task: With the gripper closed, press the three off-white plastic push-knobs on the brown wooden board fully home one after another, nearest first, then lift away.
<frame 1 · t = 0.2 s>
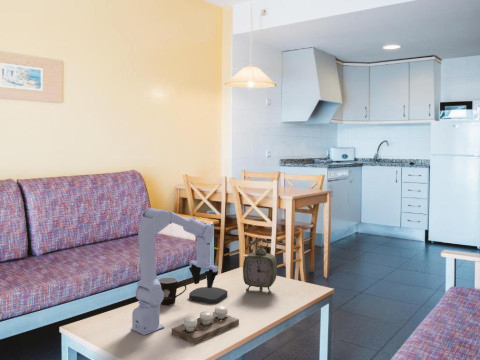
hand: (203, 285, 184), 10 cm above the table, fingers open, 7 cm apart
media streaming box: (208, 298, 199), on the table
knob near: (190, 325, 158), point 4 cm above the table, slide at 0.0 cm
tabletop clock: (260, 291, 208), on the table
coffee mug: (170, 304, 190), on the table
knob far: (221, 312, 170), point 4 cm above the table, slide at 0.0 cm
brown wooden board: (206, 329, 164), on the table
knob middle: (206, 318, 164), point 4 cm above the table, slide at 0.0 cm
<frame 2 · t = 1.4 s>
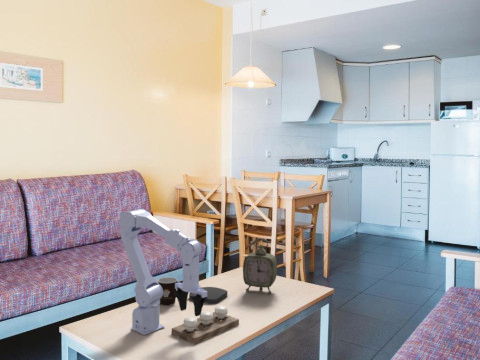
hand: (190, 312, 158), 8 cm above the table, fingers open, 7 cm apart
nothing on the table moved.
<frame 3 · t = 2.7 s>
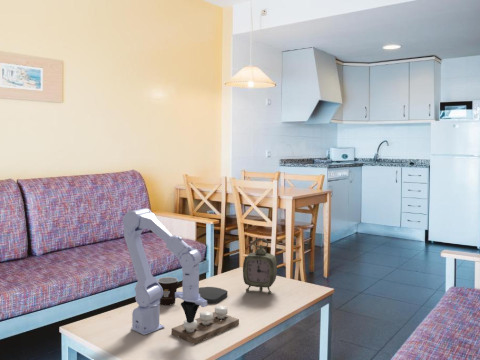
hand: (190, 321, 158), 5 cm above the table, fingers closed, pressing on knob near
knob near: (190, 326, 158), point 3 cm above the table, slide at 0.7 cm, touching gripper
everything else where it was.
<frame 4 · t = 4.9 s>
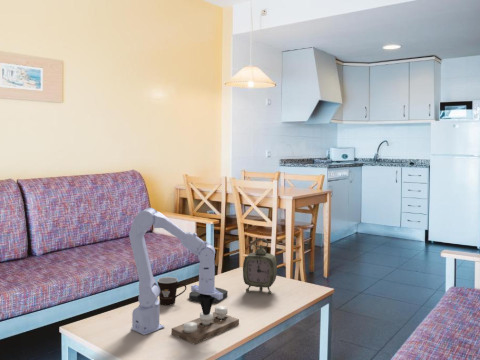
hand: (206, 314, 164), 6 cm above the table, fingers closed, pressing on knob middle
knob near: (190, 330, 158), point 2 cm above the table, slide at 1.8 cm
knob middle: (206, 318, 164), point 4 cm above the table, slide at 0.1 cm, touching gripper
everything else where it was.
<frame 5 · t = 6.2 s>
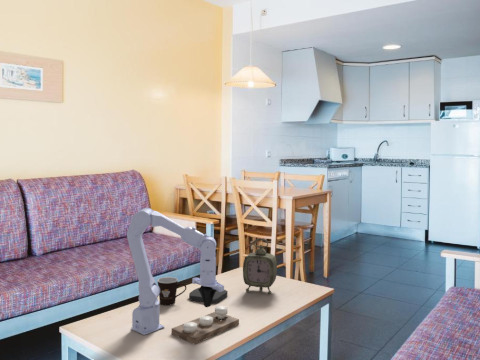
hand: (207, 306, 164), 8 cm above the table, fingers closed
knob middle: (206, 323, 164), point 2 cm above the table, slide at 1.8 cm
everything else where it was.
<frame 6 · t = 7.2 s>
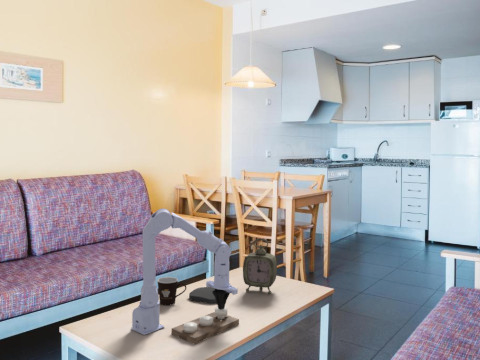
hand: (221, 308, 170), 6 cm above the table, fingers closed, pressing on knob far
knob far: (221, 313, 170), point 4 cm above the table, slide at 0.2 cm, touching gripper
everything else where it was.
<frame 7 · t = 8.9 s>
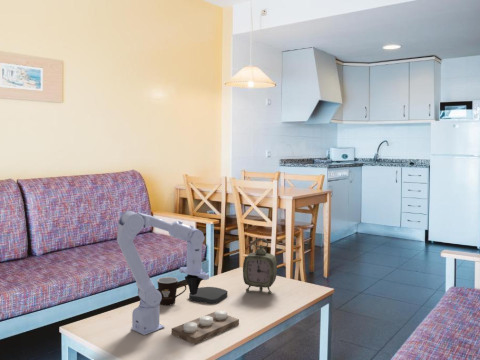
hand: (193, 294, 172), 10 cm above the table, fingers closed
knob far: (221, 317, 170), point 2 cm above the table, slide at 1.8 cm, touching brown wooden board
everything else where it was.
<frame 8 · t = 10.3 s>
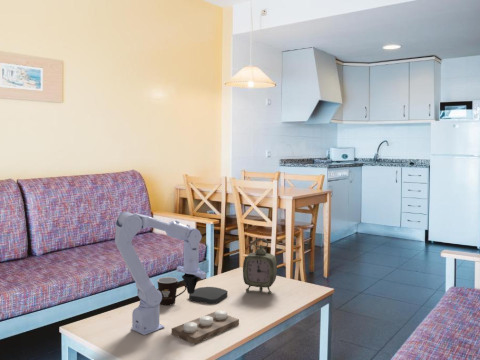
hand: (190, 293, 173), 10 cm above the table, fingers closed
nothing on the table moved.
at the end: knob near slide at 1.8 cm; knob middle slide at 1.8 cm; knob far slide at 1.8 cm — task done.
